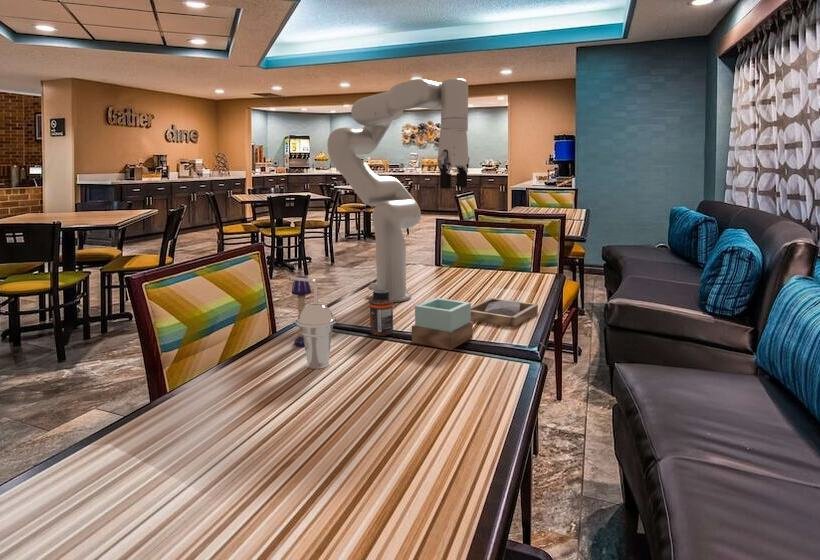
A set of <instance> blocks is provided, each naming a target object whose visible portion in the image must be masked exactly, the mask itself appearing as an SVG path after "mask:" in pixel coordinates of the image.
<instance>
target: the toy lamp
mask: <svg viewBox="0 0 820 560" xmlns="http://www.w3.org/2000/svg"><path fill="white" fill-rule="evenodd" d="M296 277H298V278H308V277H307V276H306V275H298V276H296ZM309 294H312V289H311V285H310V282H305V281H295V280H293V283H292V288H291V295H294V296H297V299H298V300H297V306H298V307H297V310H298V315H297V316H298V318H299V317H300V315H301V312H302V310H303V309H304V308H305V307H306V296H307V295H309ZM298 331H299V332H298V335H299V336H297V337H296V338H295V339H294V342H293V345H294V346H295V345H296V346H297V347H305V345H304V339H303V335H302V332H301V328H300V326H298Z"/></svg>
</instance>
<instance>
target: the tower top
mask: <svg viewBox="0 0 820 560" xmlns="http://www.w3.org/2000/svg"><path fill="white" fill-rule="evenodd" d="M471 306H472V303H471V302H469V301H461V300H455V299H447V298H441V297H435V298H432V299H429V300H427V301H424V302H422V303H419V304H417V305H414V325H415V326H419V327H424V328H430V329H435V330H441V331H446V332H452V331H454V330H456V329H458V328H460V327H462V326H464V325H466V324H468V323H470V322H472V320H471Z"/></svg>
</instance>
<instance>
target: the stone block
mask: <svg viewBox="0 0 820 560" xmlns="http://www.w3.org/2000/svg"><path fill="white" fill-rule="evenodd" d="M520 302H521V301H519V302H510V301H498V302H492V303H489V305H488V306H487V307H486V310H485V311H484V312H487V313H494V314H500V315H506V316H514V315H516V314H517V313H519V312H521V311H520Z"/></svg>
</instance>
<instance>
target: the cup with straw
mask: <svg viewBox="0 0 820 560" xmlns="http://www.w3.org/2000/svg"><path fill="white" fill-rule="evenodd" d="M288 279H289V281H294V280H295V281H305V282H309V283H312V284H313V299H314V300H313V303H309V304H308V305H305V308H304V309H303V310H302V312H301V315H300V317H298V318H296V322H295V323H296V325H297V326H298V327H299V326H300V328H301V332H302V335H303V339H304V345H305V346H304V350H305V355H306V362H307V364H308V365H307V367H308V368H310V369H315V370H319V369H325V368H326V367H329V366H330V362H329V361H330V356H331V342H332V341H331V340H332V334H333V330H334V329H333V328H334V324H336V323H337V318H336V316H335V315H333V313H332V311H331V309H330V308H329V306H327V305H325V304H323V303H320V302H318V300H319V299H318V284H317V280H316V279H313V278H308V277H307V278H298V277H297V276H290V277H289V278H288Z"/></svg>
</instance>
